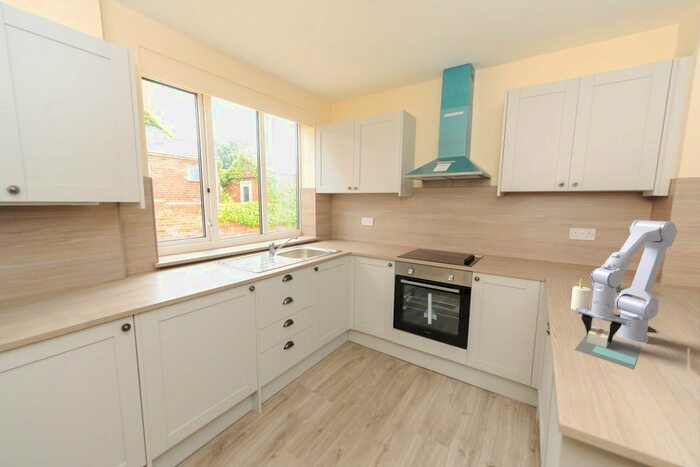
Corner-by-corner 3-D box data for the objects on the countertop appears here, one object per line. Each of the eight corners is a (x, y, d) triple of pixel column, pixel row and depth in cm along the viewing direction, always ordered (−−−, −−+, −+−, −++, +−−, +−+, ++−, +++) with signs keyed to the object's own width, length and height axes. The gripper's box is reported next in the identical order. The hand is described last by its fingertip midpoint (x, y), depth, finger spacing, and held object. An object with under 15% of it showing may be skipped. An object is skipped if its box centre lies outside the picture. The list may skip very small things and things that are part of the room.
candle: (592, 312, 126) (595, 280, 124) (580, 312, 125) (583, 281, 123) (578, 306, 132) (582, 276, 130) (567, 307, 131) (570, 277, 129)
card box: (592, 335, 102) (593, 326, 102) (610, 340, 98) (611, 331, 98) (587, 342, 97) (588, 332, 97) (606, 347, 93) (607, 337, 93)
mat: (587, 333, 104) (588, 332, 104) (640, 349, 94) (641, 347, 94) (574, 351, 92) (574, 349, 92) (633, 371, 81) (633, 369, 81)
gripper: (574, 298, 99) (570, 334, 101) (630, 311, 88) (625, 351, 89) (579, 294, 103) (575, 328, 105) (633, 306, 92) (628, 344, 94)
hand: (599, 338), depth 97 cm, fingers closed on card box, 5 cm apart
